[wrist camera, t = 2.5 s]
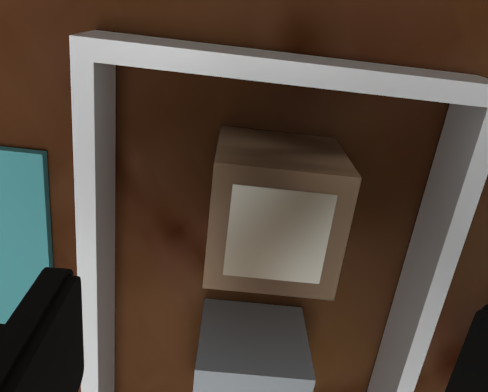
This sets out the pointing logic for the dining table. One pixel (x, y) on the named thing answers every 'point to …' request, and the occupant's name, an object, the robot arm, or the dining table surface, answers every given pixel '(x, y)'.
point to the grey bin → (290, 73)
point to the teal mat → (22, 224)
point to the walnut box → (279, 213)
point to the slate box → (252, 349)
